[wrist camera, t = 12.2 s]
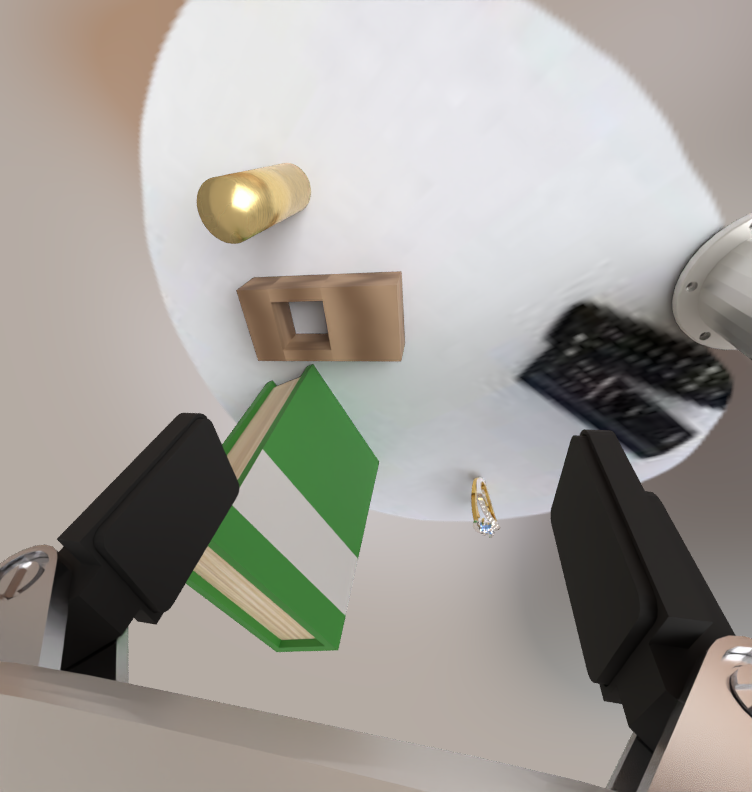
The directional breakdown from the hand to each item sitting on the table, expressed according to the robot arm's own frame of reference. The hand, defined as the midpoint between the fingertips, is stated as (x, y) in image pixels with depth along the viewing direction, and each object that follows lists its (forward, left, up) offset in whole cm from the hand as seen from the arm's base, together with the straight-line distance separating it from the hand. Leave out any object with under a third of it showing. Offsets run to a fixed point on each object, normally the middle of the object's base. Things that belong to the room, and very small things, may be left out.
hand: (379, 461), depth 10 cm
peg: (+13, -4, -30) cm, 33 cm away
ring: (-7, +34, -30) cm, 46 cm away
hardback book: (+14, +24, -30) cm, 41 cm away
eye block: (+11, +8, -30) cm, 33 cm away
